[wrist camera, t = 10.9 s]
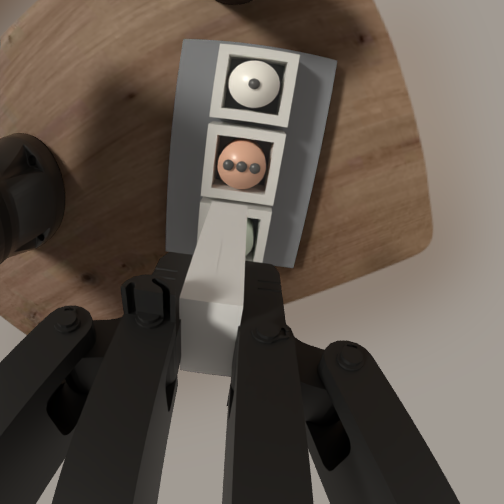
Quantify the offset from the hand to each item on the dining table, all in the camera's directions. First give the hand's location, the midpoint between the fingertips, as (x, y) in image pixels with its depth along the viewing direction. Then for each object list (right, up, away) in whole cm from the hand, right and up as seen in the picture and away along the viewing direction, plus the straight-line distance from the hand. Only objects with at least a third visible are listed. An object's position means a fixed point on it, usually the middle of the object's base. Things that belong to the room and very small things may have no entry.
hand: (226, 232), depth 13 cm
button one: (+1, +14, +11) cm, 17 cm away
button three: (0, +8, +14) cm, 16 cm away
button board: (0, +9, +16) cm, 18 cm away
